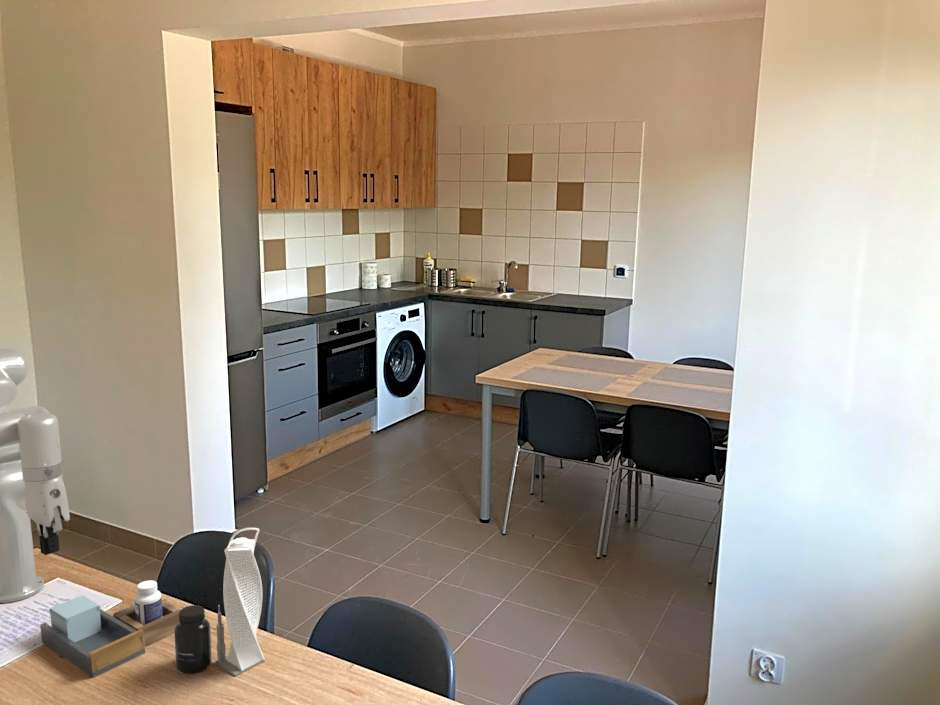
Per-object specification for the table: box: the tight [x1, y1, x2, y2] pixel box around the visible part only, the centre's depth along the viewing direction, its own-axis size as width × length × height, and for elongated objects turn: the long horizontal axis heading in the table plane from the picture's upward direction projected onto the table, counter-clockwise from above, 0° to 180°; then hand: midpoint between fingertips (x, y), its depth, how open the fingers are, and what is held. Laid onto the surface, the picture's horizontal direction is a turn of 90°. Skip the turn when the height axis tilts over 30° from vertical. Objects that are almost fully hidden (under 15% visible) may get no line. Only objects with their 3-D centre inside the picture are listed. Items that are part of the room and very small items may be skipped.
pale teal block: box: [48, 595, 101, 642], centre depth 164 cm, size 7×7×6 cm
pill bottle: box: [134, 579, 163, 625], centre depth 167 cm, size 5×5×10 cm
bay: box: [39, 608, 146, 678], centre depth 161 cm, size 21×11×5 cm, turn 53°
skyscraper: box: [215, 527, 266, 677], centre depth 154 cm, size 8×8×28 cm
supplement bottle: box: [173, 604, 213, 675], centre depth 154 cm, size 7×7×12 cm
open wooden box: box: [112, 599, 181, 648], centre depth 169 cm, size 14×10×4 cm
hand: (50, 551), depth 167 cm, fingers closed
